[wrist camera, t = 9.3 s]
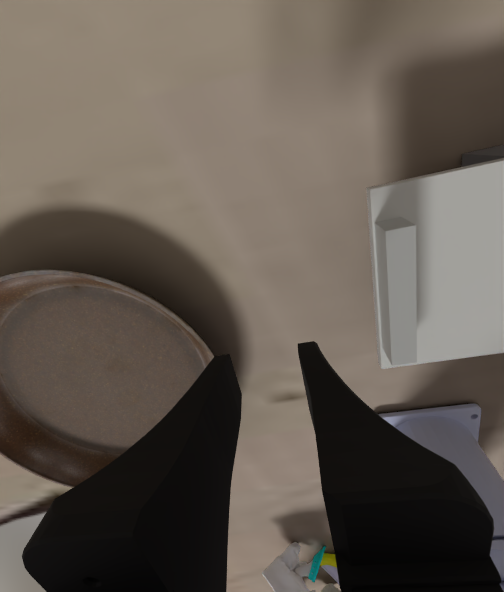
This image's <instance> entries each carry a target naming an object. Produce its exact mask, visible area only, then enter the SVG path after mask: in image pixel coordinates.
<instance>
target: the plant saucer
mask: <svg viewBox="0 0 504 592" xmlns="http://www.w3.org/2000/svg"><path fill="white" fill-rule="evenodd" d="M213 358H214V355H213V353H212V352H211V350H210V349H209V347H208V346H207V345H206V343H205V342H204V340H203V339H202V338H201V337H200V336H199V335H198V334H197V332H196V331H195V330H194V329H193V328H192V327H191V326H190V325H189V324H188V323H187V322H186V321H184V320H183V319H182V318H181V317H180V316H179V315H177V314H176V313H175V312H174V311H172V310H171V309H169V308H168V307H167V306H165V305H164V304H162V303H161V302H159V301H158V300H156V299H155V298H153V297H151V296H149V295H147V294H145V293H143V292H141V291H139V290H137V289H135V288H132V287H130V286H128V285H125V284H122V283H119V282H117V281H114V280H110V279H107V278H104V277H100V276H96V275H92V274H86V273H80V272H73V271H64V270H30V271H23V272H17V273H13V274H9V275H5V276H2V277H0V454H1V455H2V456H4V457H5V458H7V459H8V460H9V461H12V462H13V463H14V464H16V465H18V466H20V467H21V468H23V469H25V470H27V471H29V472H31V473H33V474H35V475H37V476H39V477H42V478H44V479H47V480H49V481H52V482H55V483H58V484H61V485H64V486H67V487H71V488H74V487H75V486H77V485H78V484H80V483H81V482H83V481H85V480H86V479H88V478H89V477H91V476H92V475H94V474H95V473H97V472H98V471H100V470H101V469H102V468H104V467H105V466H107V465H108V464H109V463H111V462H112V461H114V460H115V459H116V458H118V457H119V456H120V455H121V454H123V453H124V452H125V451H127V450H128V449H129V448H130V447H131V446H132V445H134V444H135V443H136V442H137V441H138V440H140V439H141V438H142V437H143V436H144V435H146V434H147V433H148V432H149V431H150V430H151V429H152V428H153V427H154V426H155V425H156V424H157V423H158V422H160V421H161V420H162V419H163V418H164V417H165V416H166V415H167V413H168V412H169V411H170V410H171V409H172V408H173V407H174V406H175V405H176V404H177V402H178V401H179V400H180V399H181V398H182V397H183V396H184V394H185V393H186V392H187V391H188V390H189V388H190V387H191V386H192V385H193V383H194V382H195V381H196V380H197V378H198V377H199V376H200V374H201V373H202V372H203V371H204V369H205V368H206V367H207V365H208V364H209V363H210V361H211V360H212V359H213Z"/></svg>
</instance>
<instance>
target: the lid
mask: <svg viewBox="0 0 504 592" xmlns="http://www.w3.org/2000/svg"><path fill="white" fill-rule="evenodd" d="M366 191H367V205H368V220H369V234H370V249H371V263H372V277H373V292H374V306H375V321H376V335H377V350H378V363H379V365H380V367H381V369H386V368H393V367H401V366H408V365H416V364H423V363H430V362H438V361H445V360H453V359H460V358H468V357H475V356H483V355H490V354H498V353H504V158H501V159H496V160H492V161H487V162H483V163H478V164H473V165H469V166H464V167H460V168H455V169H450V170H446V171H441V172H437V173H432V174H427V175H423V176H418V177H414V178H409V179H405V180H400V181H395V182H391V183H386V184H382V185H377V186H372V187H368V188H366Z"/></svg>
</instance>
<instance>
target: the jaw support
mask: <svg viewBox="0 0 504 592" xmlns="http://www.w3.org/2000/svg"><path fill="white" fill-rule="evenodd" d="M325 548H326V546H324V547H323V549H321V550H320V551H319V552H318V553H317V554H316V555H315V556H314V558H313V560H312V561H311V562H310V563H308V564H307V562H302V561H299V558H298V554H299V552H300V545H299V544H298V543H297V542H294V543H292V544H290V545H289V546H288V547H287V549H286V550H285V551H284V552H283V553H282V554H281V555H280V556H278V557H277V558H276V559H275V560H274V561H273V562H272V563H271V564H270V566H269V567H268V568H266V569H265V570H264V571H263V572H262V574H263V576H264V577H265V578H266V580H267V581H268V583H269V584H270V586H271V587H272V589H273V590H274V591H275V592H315V590H312V591H309V589H308V588H307V587H306V585H305V582H304V580H303V578H302V577H304V576H306V577H308V579H310V580H312V582H315V579H316V576H317V573H318V570H319V567H320V566H322V568H323V569H324V570H325V571H326V572H327V573H328V574H329V575H330V576H331V577H332V578H333V579H334V580H335V581H336V582H337V583H338V584H339V578H338V571H337V565H336V558H335V554H329V553H324V551H325ZM339 585H340V584H339ZM321 592H341V591H340V590H339V589H338V588H336V587H335V586H334V584H333V583H329V584H327V585H326V586H325V587H324V588H323V589H322V591H321Z"/></svg>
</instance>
